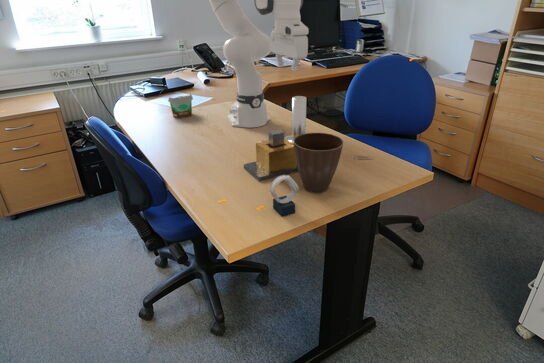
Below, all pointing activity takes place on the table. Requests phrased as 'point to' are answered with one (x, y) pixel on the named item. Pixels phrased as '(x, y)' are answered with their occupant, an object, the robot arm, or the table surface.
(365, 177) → the table surface
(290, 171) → the gold block fixture
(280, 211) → the watch
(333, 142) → the plant pot
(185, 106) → the food container
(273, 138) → the grey square rod
